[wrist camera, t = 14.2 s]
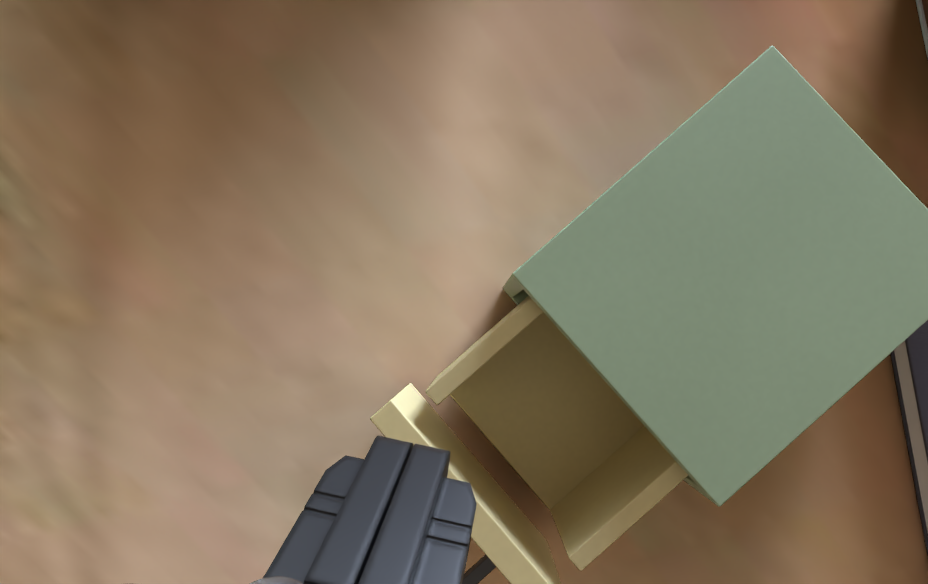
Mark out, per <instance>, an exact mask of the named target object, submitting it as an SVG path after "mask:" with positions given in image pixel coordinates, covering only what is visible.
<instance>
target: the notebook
mask: <svg viewBox="0 0 928 584" xmlns="http://www.w3.org/2000/svg"><path fill="white" fill-rule="evenodd" d="M891 359H892V364H893V370H894V375H895V380H896V386H897V391H898V397H899V402H900V407H901V413H902V418H903V424H904V429H905V435H906V440H907V445H908V451H909V456H910V462H911V467H912V473H913V478H914V483H915V489H916V494H917V500H918V505H919V510H920V516H921V521H922V527H923V532H924V538H925V543H926V548H927V554H928V320H927V321H926V322H925V323H924V324H923V325H921V326H920V327H919V328H918V329H917V330H916V331H915V332H914V333H913V334H911V335H910V336H909V337H908V338H907V339H906V340H905V341H904V342H903V343H901V344H900V345H899V346H898V347H897V348H896V349H895V350H894V351H893V352H891Z"/></svg>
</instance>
